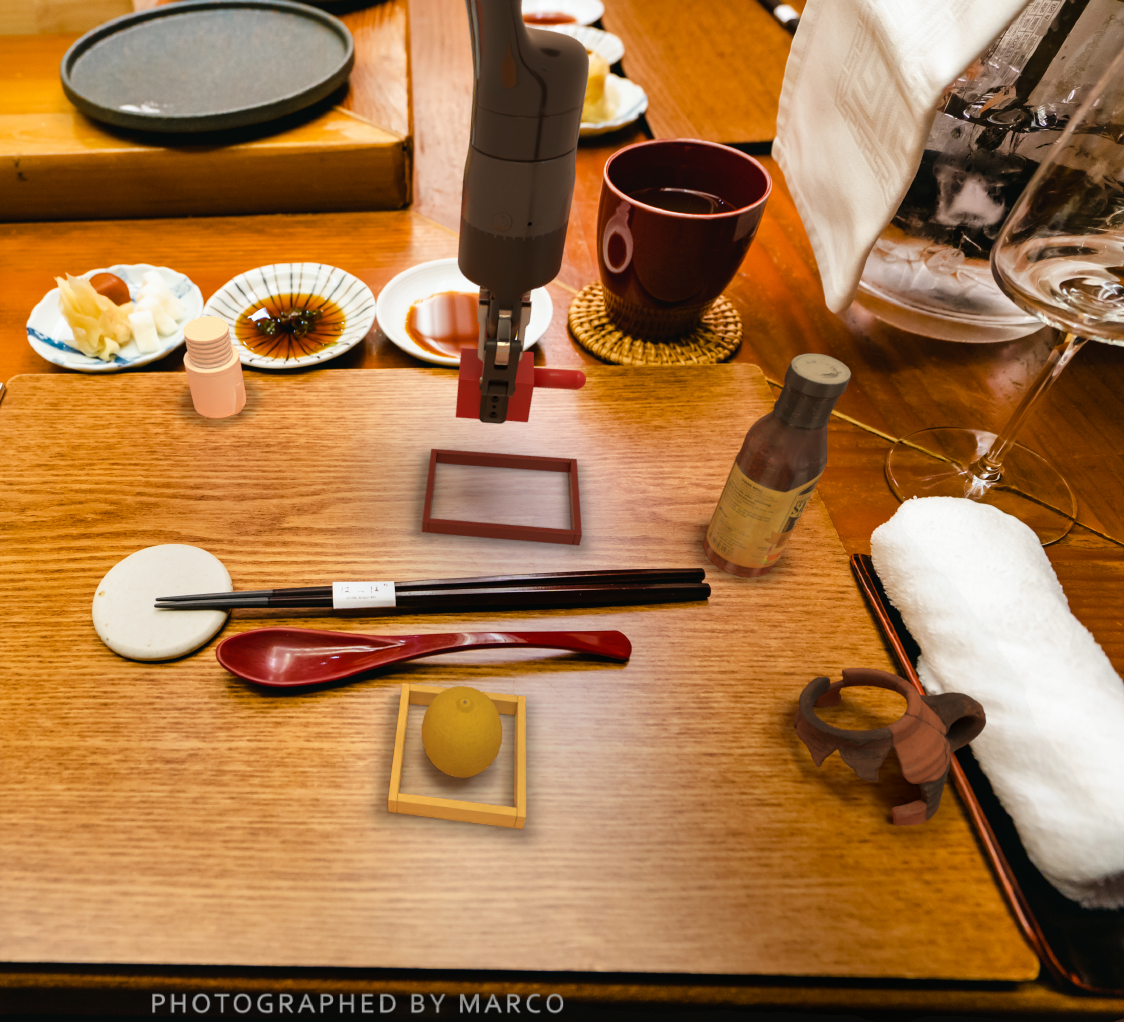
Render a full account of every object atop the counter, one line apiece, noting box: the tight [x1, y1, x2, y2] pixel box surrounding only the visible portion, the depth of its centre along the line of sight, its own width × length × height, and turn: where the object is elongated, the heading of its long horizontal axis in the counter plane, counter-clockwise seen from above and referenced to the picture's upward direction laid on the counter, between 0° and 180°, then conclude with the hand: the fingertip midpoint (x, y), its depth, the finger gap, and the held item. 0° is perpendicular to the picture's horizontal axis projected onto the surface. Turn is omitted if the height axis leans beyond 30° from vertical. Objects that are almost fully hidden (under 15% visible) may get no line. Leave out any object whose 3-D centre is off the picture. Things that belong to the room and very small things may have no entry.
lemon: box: [421, 685, 503, 779], centre depth 55 cm, size 6×6×8 cm
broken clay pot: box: [793, 667, 987, 826], centre depth 55 cm, size 12×10×8 cm
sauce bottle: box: [703, 353, 852, 578], centre depth 64 cm, size 6×6×20 cm
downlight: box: [182, 315, 247, 419], centre depth 85 cm, size 8×7×10 cm
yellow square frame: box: [387, 682, 527, 830], centre depth 57 cm, size 9×9×2 cm
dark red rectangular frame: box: [421, 448, 583, 546], centre depth 75 cm, size 14×10×2 cm
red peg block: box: [455, 347, 587, 423], centre depth 66 cm, size 10×4×4 cm, turn 82°
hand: (493, 400), depth 67 cm, fingers closed on red peg block, 4 cm apart
